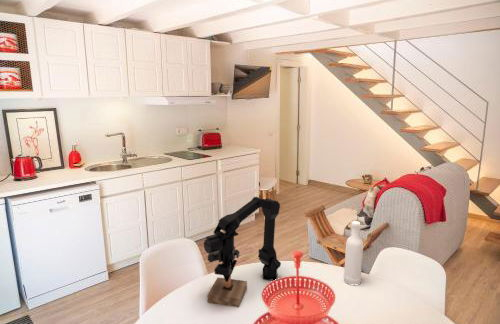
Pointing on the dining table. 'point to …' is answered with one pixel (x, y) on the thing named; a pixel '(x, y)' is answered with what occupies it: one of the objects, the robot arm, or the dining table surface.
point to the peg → (227, 284)
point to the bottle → (353, 256)
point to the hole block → (227, 292)
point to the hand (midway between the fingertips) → (227, 279)
